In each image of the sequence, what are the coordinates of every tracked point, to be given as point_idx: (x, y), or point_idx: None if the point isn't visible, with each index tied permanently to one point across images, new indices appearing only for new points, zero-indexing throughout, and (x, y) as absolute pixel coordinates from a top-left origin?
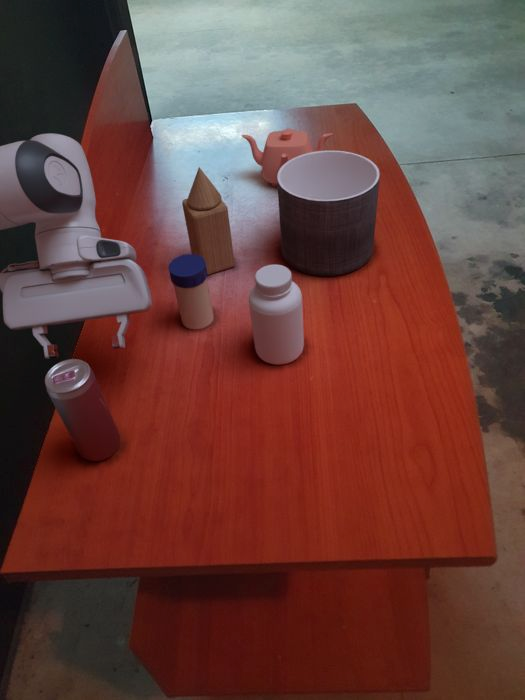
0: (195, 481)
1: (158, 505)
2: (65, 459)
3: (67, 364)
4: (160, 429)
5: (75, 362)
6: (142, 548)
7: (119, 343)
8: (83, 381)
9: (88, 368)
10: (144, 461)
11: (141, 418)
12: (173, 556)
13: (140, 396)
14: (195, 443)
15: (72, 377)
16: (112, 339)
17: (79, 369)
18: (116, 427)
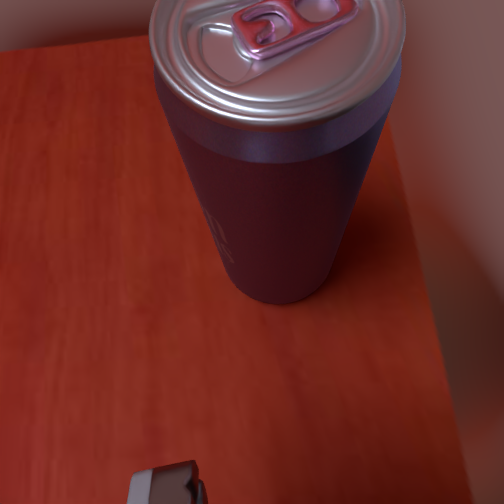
0: (38, 180)
1: (113, 127)
2: (354, 212)
3: (309, 86)
4: (128, 312)
5: (268, 115)
6: (133, 56)
7: (147, 480)
8: (179, 8)
9: (163, 62)
10: (157, 218)
11: (187, 347)
12: (78, 50)
13: (206, 436)
14: (37, 273)
15: (241, 9)
16: (184, 500)
17: (230, 82)
18: (223, 263)
